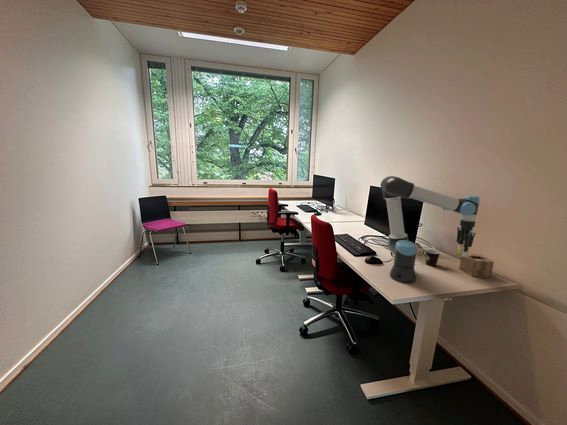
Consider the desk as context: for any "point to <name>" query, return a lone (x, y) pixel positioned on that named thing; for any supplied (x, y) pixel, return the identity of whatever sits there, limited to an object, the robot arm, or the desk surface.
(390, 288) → the desk surface
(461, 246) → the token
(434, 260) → the coffee mug
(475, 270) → the box
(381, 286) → the desk surface
